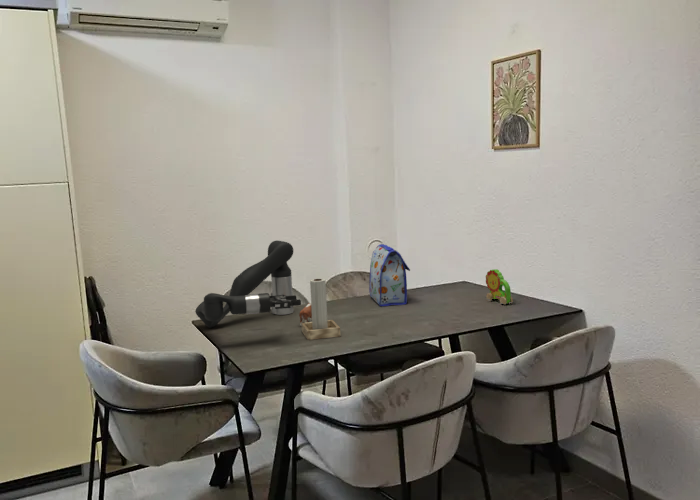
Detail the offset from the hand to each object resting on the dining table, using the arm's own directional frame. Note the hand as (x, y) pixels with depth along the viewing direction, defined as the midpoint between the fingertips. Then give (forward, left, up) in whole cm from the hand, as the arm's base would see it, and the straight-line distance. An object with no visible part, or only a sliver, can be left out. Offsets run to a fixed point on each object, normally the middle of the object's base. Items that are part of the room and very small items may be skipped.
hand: (298, 300), depth 243 cm
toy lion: (+68, +73, -15) cm, 101 cm away
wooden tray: (+7, +5, -15) cm, 17 cm away
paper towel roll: (+6, +4, -14) cm, 16 cm away
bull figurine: (-5, +19, -15) cm, 25 cm away
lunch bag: (+17, +66, -15) cm, 70 cm away
